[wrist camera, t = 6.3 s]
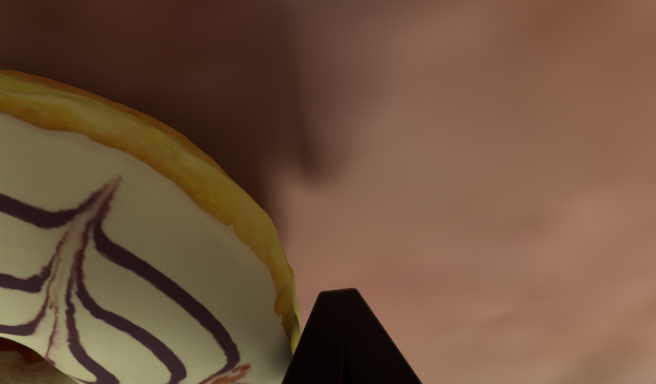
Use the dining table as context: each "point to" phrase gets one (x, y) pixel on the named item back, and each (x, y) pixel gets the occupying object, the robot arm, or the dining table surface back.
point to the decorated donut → (130, 251)
